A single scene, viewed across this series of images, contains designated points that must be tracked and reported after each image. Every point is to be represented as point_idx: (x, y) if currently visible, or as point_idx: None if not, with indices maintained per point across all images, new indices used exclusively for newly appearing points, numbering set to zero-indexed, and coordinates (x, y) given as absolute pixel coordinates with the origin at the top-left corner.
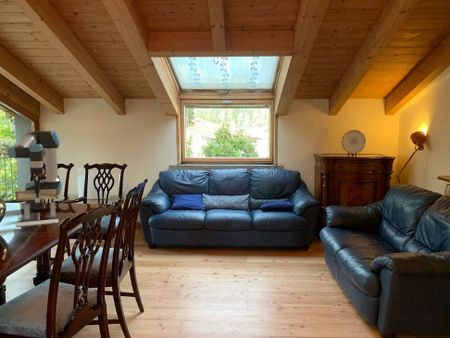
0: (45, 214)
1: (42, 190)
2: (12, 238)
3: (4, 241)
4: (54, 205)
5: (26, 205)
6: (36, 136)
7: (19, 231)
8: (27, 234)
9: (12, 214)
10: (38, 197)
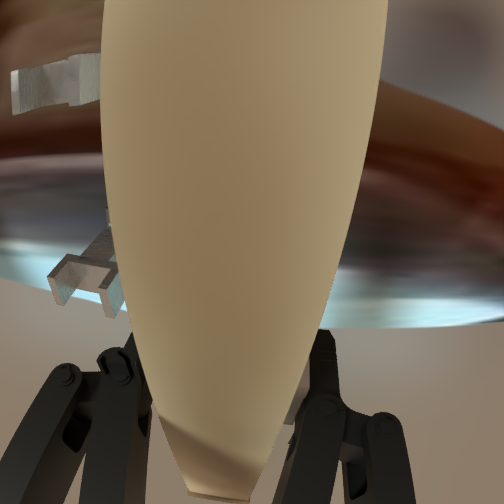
0: (16, 132)
1: (282, 392)
2: (484, 304)
3: (493, 322)
4: (96, 61)
5: (112, 302)
6: None
7: (402, 281)
8: (480, 257)
9: (5, 270)
10: (328, 333)
